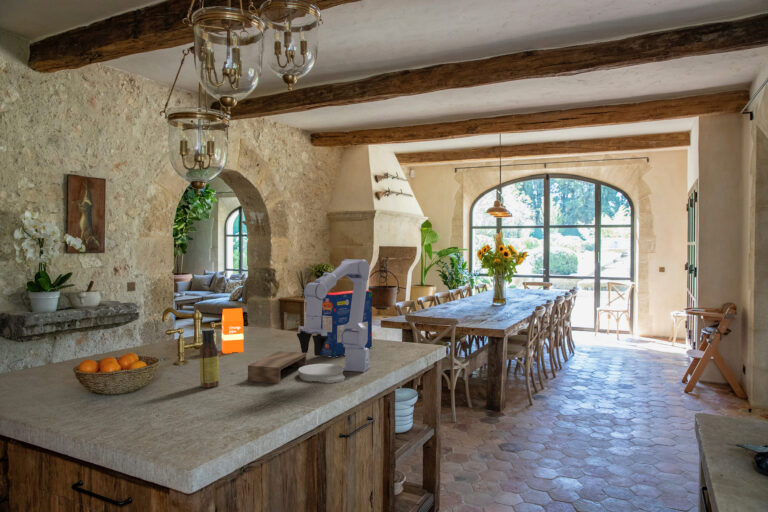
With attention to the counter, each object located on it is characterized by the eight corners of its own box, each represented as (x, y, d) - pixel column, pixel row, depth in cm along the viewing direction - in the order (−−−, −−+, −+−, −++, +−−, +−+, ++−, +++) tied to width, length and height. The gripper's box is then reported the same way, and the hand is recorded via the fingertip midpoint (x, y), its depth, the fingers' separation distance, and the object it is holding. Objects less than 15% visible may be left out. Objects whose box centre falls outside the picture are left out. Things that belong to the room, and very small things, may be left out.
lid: (318, 387, 175) (318, 378, 175) (289, 376, 190) (289, 368, 190) (357, 378, 187) (357, 370, 186) (326, 369, 202) (326, 361, 202)
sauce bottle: (222, 384, 177) (222, 328, 176) (211, 389, 171) (211, 331, 170) (207, 382, 179) (207, 327, 178) (195, 387, 173) (195, 330, 173)
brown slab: (306, 366, 204) (306, 352, 204) (278, 383, 178) (278, 367, 178) (278, 365, 207) (279, 351, 206) (247, 381, 181) (247, 365, 181)
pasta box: (358, 345, 248) (359, 289, 248) (371, 347, 243) (372, 290, 243) (320, 355, 225) (320, 293, 225) (333, 358, 221) (334, 294, 220)
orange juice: (221, 350, 235) (221, 308, 235) (240, 348, 239) (240, 307, 239) (223, 353, 228) (223, 310, 228) (243, 352, 232) (243, 309, 232)
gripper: (292, 314, 182) (289, 352, 181) (317, 317, 172) (314, 357, 171) (308, 314, 187) (305, 351, 186) (332, 317, 176) (330, 356, 176)
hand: (310, 354), depth 179 cm, fingers open, 7 cm apart
